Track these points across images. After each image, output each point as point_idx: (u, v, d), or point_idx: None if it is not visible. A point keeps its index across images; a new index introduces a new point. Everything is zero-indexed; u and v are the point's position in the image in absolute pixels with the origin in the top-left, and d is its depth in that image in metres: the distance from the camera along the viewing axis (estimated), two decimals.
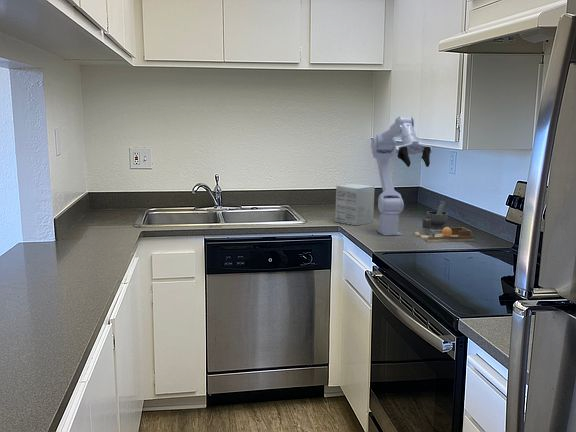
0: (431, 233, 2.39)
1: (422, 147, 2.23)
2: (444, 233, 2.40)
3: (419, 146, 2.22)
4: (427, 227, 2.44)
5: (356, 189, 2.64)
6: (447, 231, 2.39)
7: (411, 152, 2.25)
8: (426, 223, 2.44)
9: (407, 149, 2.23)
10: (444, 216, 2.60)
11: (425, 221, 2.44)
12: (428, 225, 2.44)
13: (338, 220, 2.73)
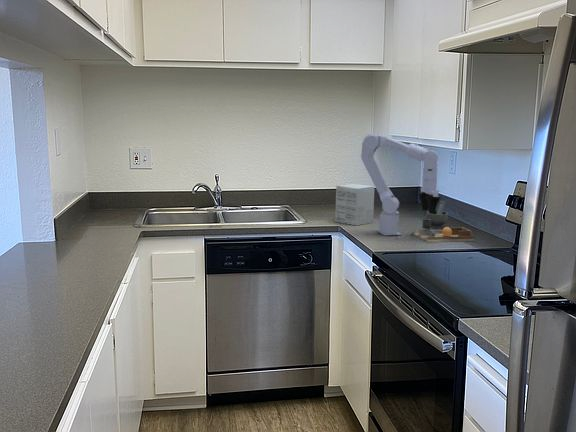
0: (431, 233, 2.39)
1: None
2: (444, 233, 2.40)
3: None
4: (427, 227, 2.44)
5: (356, 189, 2.64)
6: (447, 231, 2.39)
7: None
8: (426, 223, 2.44)
9: None
10: (444, 216, 2.60)
11: (425, 221, 2.44)
12: (428, 225, 2.44)
13: (338, 220, 2.73)
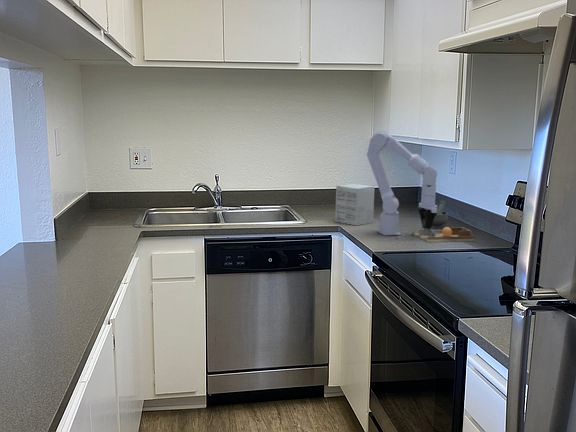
0: (431, 233, 2.39)
1: None
2: (444, 233, 2.40)
3: None
4: None
5: (356, 189, 2.64)
6: (447, 231, 2.39)
7: None
8: None
9: None
10: (444, 216, 2.60)
11: None
12: None
13: (338, 220, 2.73)
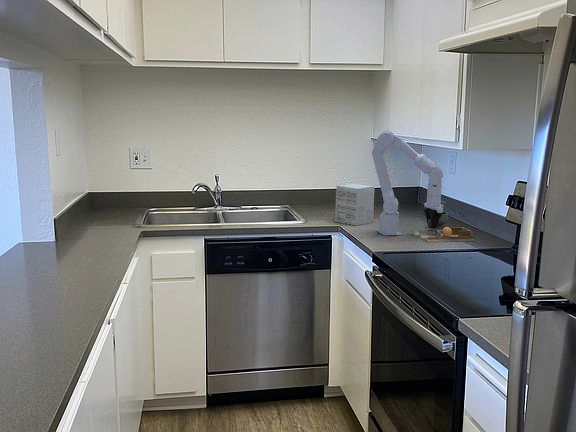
0: (437, 233, 2.40)
1: None
2: (444, 233, 2.40)
3: None
4: None
5: (356, 189, 2.64)
6: (447, 231, 2.39)
7: None
8: None
9: None
10: (444, 216, 2.60)
11: (430, 221, 2.44)
12: None
13: (338, 220, 2.73)
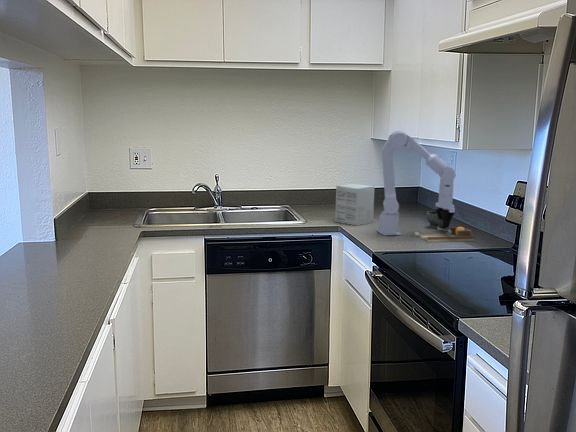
0: (447, 233, 2.41)
1: None
2: (464, 229, 2.41)
3: None
4: (443, 227, 2.45)
5: (356, 189, 2.64)
6: None
7: None
8: (442, 223, 2.45)
9: None
10: None
11: (441, 221, 2.45)
12: None
13: (338, 220, 2.73)
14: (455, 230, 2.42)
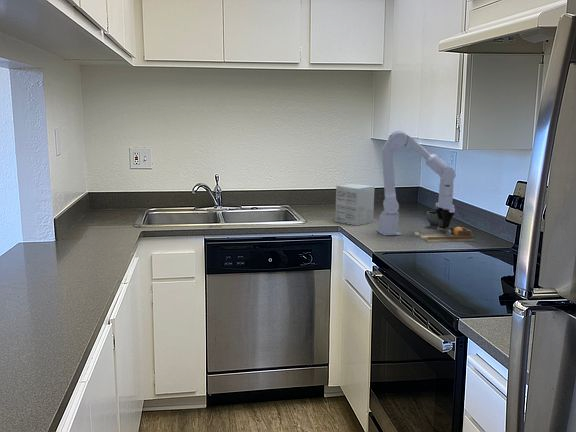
0: (447, 233, 2.41)
1: None
2: (461, 228, 2.41)
3: None
4: (443, 227, 2.45)
5: (356, 189, 2.64)
6: None
7: None
8: (442, 223, 2.45)
9: None
10: None
11: (441, 221, 2.45)
12: None
13: (338, 220, 2.73)
14: (453, 232, 2.42)
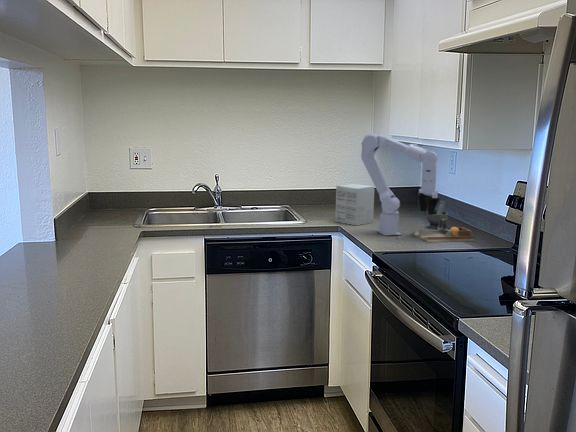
0: (447, 233, 2.41)
1: None
2: (454, 228, 2.40)
3: None
4: (443, 227, 2.45)
5: (356, 189, 2.64)
6: (457, 231, 2.40)
7: None
8: (442, 223, 2.45)
9: None
10: (444, 216, 2.60)
11: (441, 221, 2.45)
12: (444, 225, 2.45)
13: (338, 220, 2.73)
14: None
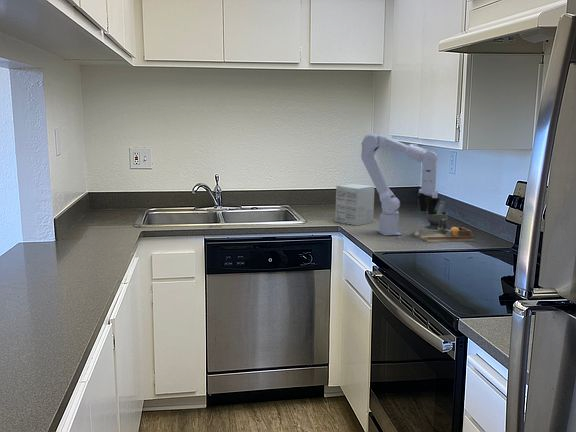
0: (447, 233, 2.41)
1: None
2: (455, 228, 2.40)
3: None
4: (443, 227, 2.45)
5: (356, 189, 2.64)
6: (457, 231, 2.40)
7: None
8: (442, 223, 2.45)
9: None
10: (444, 216, 2.60)
11: (441, 221, 2.45)
12: (444, 225, 2.45)
13: (338, 220, 2.73)
14: None
